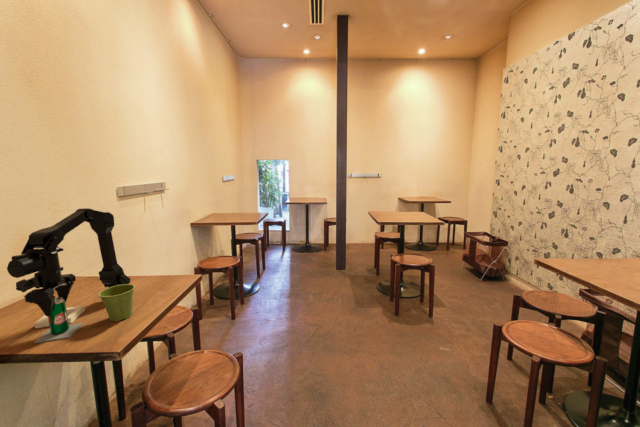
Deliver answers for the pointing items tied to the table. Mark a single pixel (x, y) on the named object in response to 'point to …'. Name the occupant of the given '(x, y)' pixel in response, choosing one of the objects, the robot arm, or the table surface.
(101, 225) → the robot arm
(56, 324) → the soda can
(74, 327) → the grey mat
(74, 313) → the block
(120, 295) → the plant pot
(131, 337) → the table surface
